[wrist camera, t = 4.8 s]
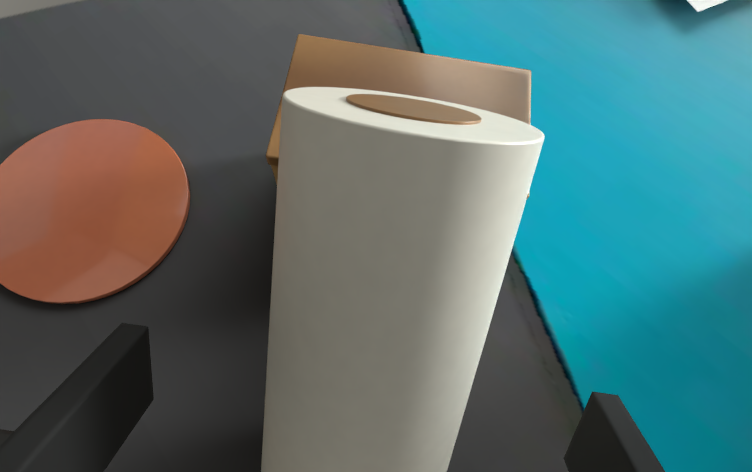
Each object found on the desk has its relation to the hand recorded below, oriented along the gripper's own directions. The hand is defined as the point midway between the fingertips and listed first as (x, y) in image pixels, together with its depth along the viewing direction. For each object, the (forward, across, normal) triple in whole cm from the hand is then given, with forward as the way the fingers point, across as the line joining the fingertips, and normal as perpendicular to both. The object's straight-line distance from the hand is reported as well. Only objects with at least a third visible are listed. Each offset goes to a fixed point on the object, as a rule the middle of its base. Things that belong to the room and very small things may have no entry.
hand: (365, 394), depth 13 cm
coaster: (+12, -16, -1) cm, 20 cm away
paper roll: (+8, 0, -5) cm, 9 cm away
